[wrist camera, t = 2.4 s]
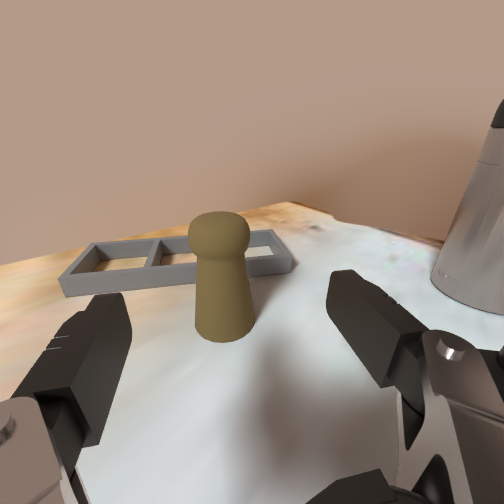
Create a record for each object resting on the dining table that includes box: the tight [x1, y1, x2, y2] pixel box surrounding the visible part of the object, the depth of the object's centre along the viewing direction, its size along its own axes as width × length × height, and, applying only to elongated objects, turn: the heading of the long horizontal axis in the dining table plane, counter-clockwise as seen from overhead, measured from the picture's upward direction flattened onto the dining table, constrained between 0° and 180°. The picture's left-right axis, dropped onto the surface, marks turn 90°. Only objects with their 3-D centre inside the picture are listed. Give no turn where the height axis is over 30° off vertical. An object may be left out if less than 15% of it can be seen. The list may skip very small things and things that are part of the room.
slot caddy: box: [58, 229, 292, 297], centre depth 34 cm, size 27×10×2 cm, turn 101°
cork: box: [188, 212, 255, 343], centre depth 22 cm, size 6×6×11 cm
